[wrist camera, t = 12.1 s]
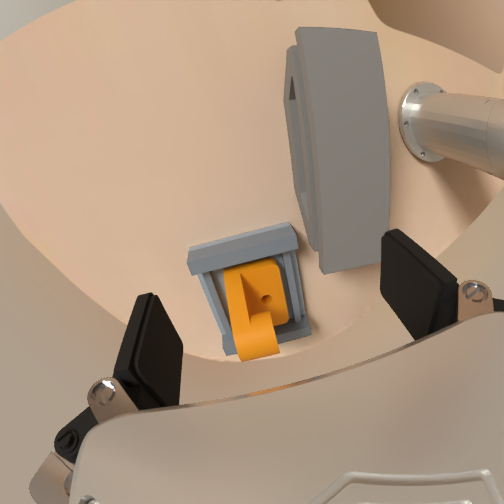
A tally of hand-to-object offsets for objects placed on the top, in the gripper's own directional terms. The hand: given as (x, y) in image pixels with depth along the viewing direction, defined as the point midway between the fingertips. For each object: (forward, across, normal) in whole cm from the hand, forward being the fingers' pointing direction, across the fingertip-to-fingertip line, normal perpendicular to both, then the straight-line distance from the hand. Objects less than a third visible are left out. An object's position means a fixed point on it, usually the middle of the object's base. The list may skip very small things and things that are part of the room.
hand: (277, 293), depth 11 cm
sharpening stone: (+27, -11, -1) cm, 29 cm away
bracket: (+25, +2, +18) cm, 31 cm away
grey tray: (+26, +2, +18) cm, 32 cm away
